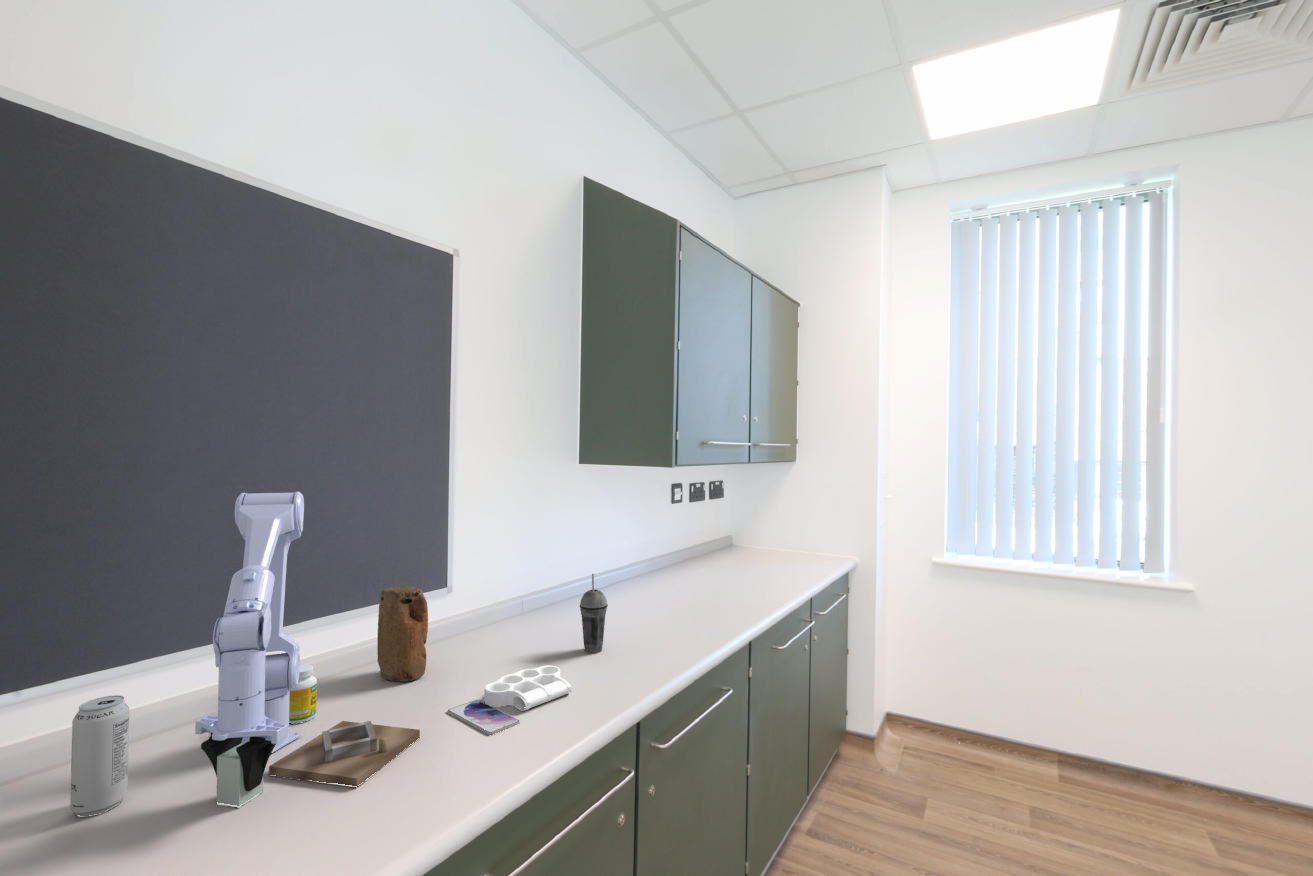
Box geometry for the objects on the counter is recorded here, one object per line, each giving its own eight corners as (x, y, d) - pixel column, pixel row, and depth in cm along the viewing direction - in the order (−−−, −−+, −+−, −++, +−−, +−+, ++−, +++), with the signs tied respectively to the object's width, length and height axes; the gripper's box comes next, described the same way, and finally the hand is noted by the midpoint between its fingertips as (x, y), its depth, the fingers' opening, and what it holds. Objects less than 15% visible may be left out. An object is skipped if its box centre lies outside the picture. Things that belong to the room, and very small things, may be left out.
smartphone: (477, 699, 122) (521, 721, 112) (476, 703, 122) (521, 725, 112) (445, 709, 116) (489, 733, 106) (445, 714, 116) (489, 738, 106)
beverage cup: (609, 646, 156) (610, 570, 156) (604, 655, 148) (605, 576, 149) (582, 645, 156) (583, 569, 157) (576, 654, 149) (576, 575, 149)
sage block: (216, 805, 86) (217, 756, 86) (241, 789, 90) (241, 743, 90) (239, 808, 85) (240, 759, 85) (263, 792, 89) (263, 745, 89)
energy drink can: (82, 800, 87) (84, 697, 87) (134, 791, 89) (136, 691, 89) (61, 824, 81) (63, 714, 81) (117, 813, 84) (119, 707, 84)
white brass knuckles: (512, 720, 114) (471, 699, 123) (583, 692, 127) (541, 675, 137) (512, 703, 114) (471, 683, 123) (583, 676, 127) (541, 660, 137)
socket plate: (268, 775, 93) (269, 753, 93) (342, 729, 109) (342, 710, 109) (356, 788, 90) (357, 765, 90) (419, 738, 106) (419, 718, 106)
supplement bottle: (286, 715, 115) (287, 665, 115) (317, 710, 117) (318, 661, 117) (282, 727, 110) (282, 675, 110) (315, 721, 112) (315, 671, 112)
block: (373, 676, 134) (375, 588, 135) (403, 666, 141) (404, 582, 141) (403, 687, 128) (404, 595, 129) (432, 675, 135) (433, 588, 135)
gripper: (175, 699, 85) (173, 794, 85) (259, 709, 82) (257, 807, 82) (220, 681, 92) (219, 768, 92) (299, 689, 89) (298, 780, 89)
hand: (240, 785), depth 87 cm, fingers closed on sage block, 4 cm apart
